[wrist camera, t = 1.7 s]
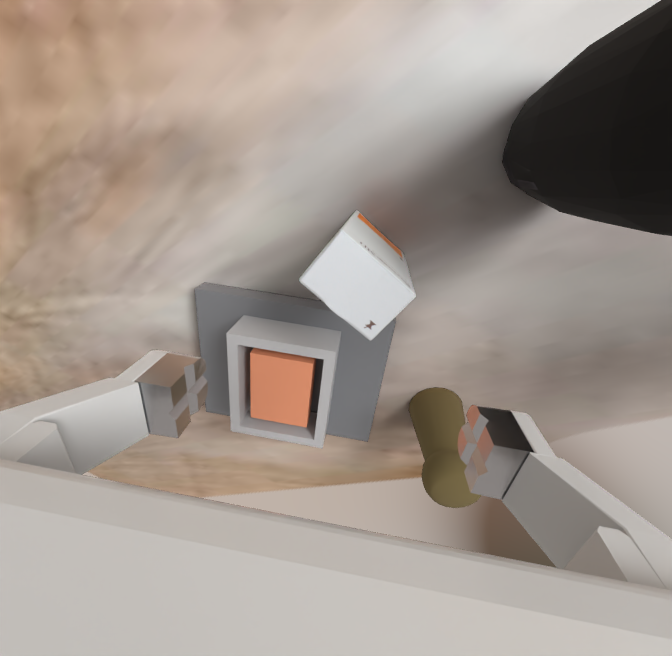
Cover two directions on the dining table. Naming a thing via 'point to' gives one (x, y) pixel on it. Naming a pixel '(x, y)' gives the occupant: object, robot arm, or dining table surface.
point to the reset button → (281, 386)
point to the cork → (441, 446)
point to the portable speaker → (604, 130)
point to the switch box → (294, 338)
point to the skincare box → (361, 277)
